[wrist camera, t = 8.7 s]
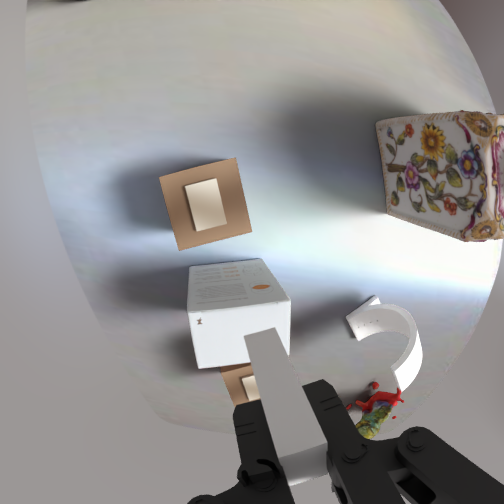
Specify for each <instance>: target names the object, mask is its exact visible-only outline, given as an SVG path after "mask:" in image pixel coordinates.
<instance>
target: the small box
mask: <svg viewBox="0 0 504 504" xmlns="http://www.w3.org/2000/svg"><path fill="white" fill-rule="evenodd" d="M187 315H188V320H189V326H190V332H191V337H192V342H193V347H194V352H195V357H196V361H197V366H198V368H199V369H202V368H211V367H219V366H227V365H235V364H242V363H249V362H250V358H249V355H248V351H247V347H246V344H245V340H244V336H245V335H248V334H252V333H256V332H259V331H263V330H267V329H270V328H274V327H275V328H276V330H277V332H278V335H279V337H280V339H281V341H282V344H283V346H284V348H285V350H286V352H287V355H288V356H289V349H290V315H291V300H290V298H289V297H288V295H287V294H286V292H285V291H284V290H283V288H282V287H281V285H280V284H279V282H278V281H277V280H276V278H275V277H274V275H273V274H272V272H271V271H270V270H269V268H268V267H267V265H266V264H265V262H264V261H263V260H262V259H254V260H246V261H236V262H227V263H217V264H208V265H199V266H190V267H189V282H188V297H187Z"/></svg>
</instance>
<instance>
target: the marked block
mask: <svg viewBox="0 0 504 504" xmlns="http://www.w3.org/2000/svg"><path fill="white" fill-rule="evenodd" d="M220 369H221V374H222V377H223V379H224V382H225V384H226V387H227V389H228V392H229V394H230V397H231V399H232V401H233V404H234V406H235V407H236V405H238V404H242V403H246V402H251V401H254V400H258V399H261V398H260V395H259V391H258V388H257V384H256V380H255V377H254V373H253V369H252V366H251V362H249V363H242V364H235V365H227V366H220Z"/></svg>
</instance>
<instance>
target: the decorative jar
mask: <svg viewBox="0 0 504 504" xmlns="http://www.w3.org/2000/svg"><path fill="white" fill-rule="evenodd" d="M375 127H376V132H377V138H378V143H379V148H380V154H381V160H382V170H383V178H384V186H385V194H386V206H387V214H388V215H391V216H394V217H396V218H399V219H401V220H404V221H407V222H410V223H413V224H415V225H418V226H421V227H424V228H428V229H431V230H433V231H437V232H439V233H442V234H445V235H448V236H451V237H453V238H456V239H459V240H461V241H464V242H469V241H473V242H484V241H486V240H488V239H494V240H496V239H504V114H501V115H498V114H492V113H486V114H484V113H481V112H469V111H463V110H461V111H456V112H446V113H432V114H423V115H413V116H405V117H397V118H390V119H384V120H380V121H378V122H376V124H375Z"/></svg>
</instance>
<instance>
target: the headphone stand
mask: <svg viewBox="0 0 504 504" xmlns="http://www.w3.org/2000/svg"><path fill="white" fill-rule="evenodd" d="M346 319H347V321H348V323H349V325H350V327H351V329H352V331H353V333H354V335H355V337H356V339H357V340H358V341H360V340H361V339H363V338H365V337H367V336H369V335H371V334H374V333H378V332H383V331H394V332H398V333H401V334H403V335H405V336H407V337H408V338H409V342H408V345H407V347H406V349H405V351H404V353H403V354H402V356H401V357H400V358H399V359H398V360H397V361H396V362H395V363H394V364H393V365H392V366H391V370H392V372H393V375H394V378H395V381H396V383H397V386H398V388H399V389H400V390H401V392H402V391H403V390H404V389H405V388H407V387H408V386H409V385H410V383H411V382H412V381H413V380H414V378H415V377H416V375H417V373H418V371H419V369H420V366H421V362H422V348H421V343H420V339H419V335H418V331H417V327H416V323H415V321H414V319H413V317H412V315H411V314H410V313H409V312H408V311H407V310H405V309H404V308H402V307H400V306H397V305H393V304H381V303H380V301H379V298H378V297H377V296H376V295H375V296H373V297H372V298H371V299H369V300H368V301H367V302H365V303H364V304H362V305H361V306H360V307H358V308H357V309H356V310H354V311H353V312H351V313H350V314H349V315H347V316H346Z"/></svg>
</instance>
